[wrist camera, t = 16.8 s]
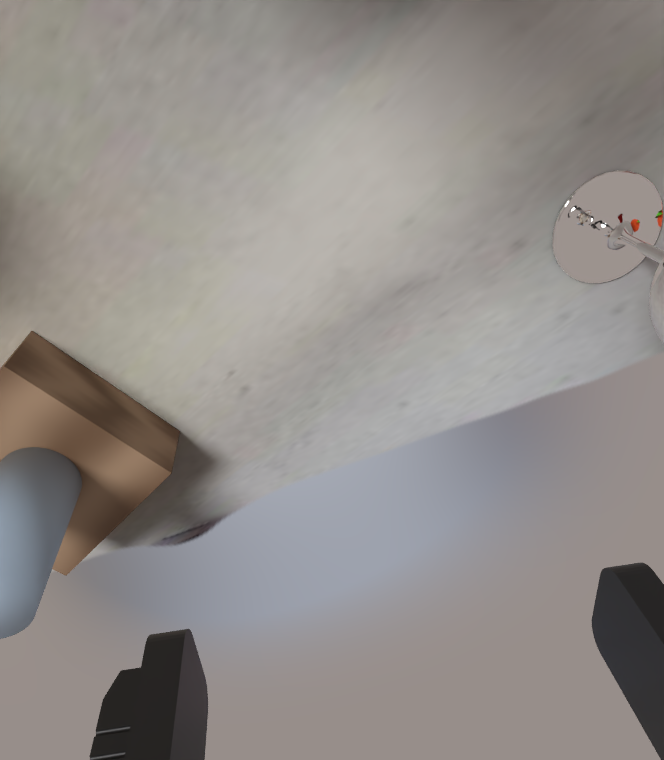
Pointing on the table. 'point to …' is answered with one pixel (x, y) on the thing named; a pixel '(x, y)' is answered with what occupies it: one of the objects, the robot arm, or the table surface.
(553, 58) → the table surface
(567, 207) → the wineglass
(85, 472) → the walnut base
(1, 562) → the blue-grey cylinder
